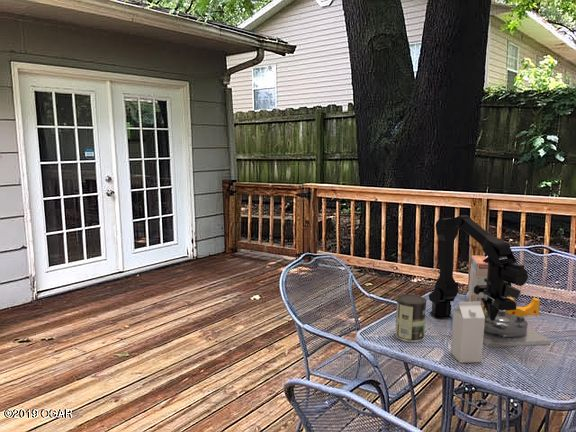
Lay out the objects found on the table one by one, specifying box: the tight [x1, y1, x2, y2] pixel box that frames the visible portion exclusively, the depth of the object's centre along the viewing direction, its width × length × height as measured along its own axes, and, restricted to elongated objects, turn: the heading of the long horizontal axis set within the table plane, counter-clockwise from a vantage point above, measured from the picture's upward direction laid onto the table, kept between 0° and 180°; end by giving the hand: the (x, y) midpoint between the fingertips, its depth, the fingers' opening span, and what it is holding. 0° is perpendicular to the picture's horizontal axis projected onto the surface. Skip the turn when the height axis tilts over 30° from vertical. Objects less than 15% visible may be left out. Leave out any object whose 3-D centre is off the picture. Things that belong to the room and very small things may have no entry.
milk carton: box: [450, 301, 485, 363], centre depth 153 cm, size 7×7×19 cm
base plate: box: [483, 325, 551, 348], centre depth 175 cm, size 23×23×4 cm
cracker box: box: [467, 254, 488, 312], centre depth 199 cm, size 14×6×21 cm, turn 167°
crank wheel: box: [481, 304, 529, 337], centre depth 174 cm, size 17×17×9 cm
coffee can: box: [394, 293, 428, 343], centre depth 169 cm, size 10×10×14 cm
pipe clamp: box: [505, 296, 541, 317], centre depth 193 cm, size 12×4×6 cm, turn 86°
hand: (492, 320), depth 167 cm, fingers closed
